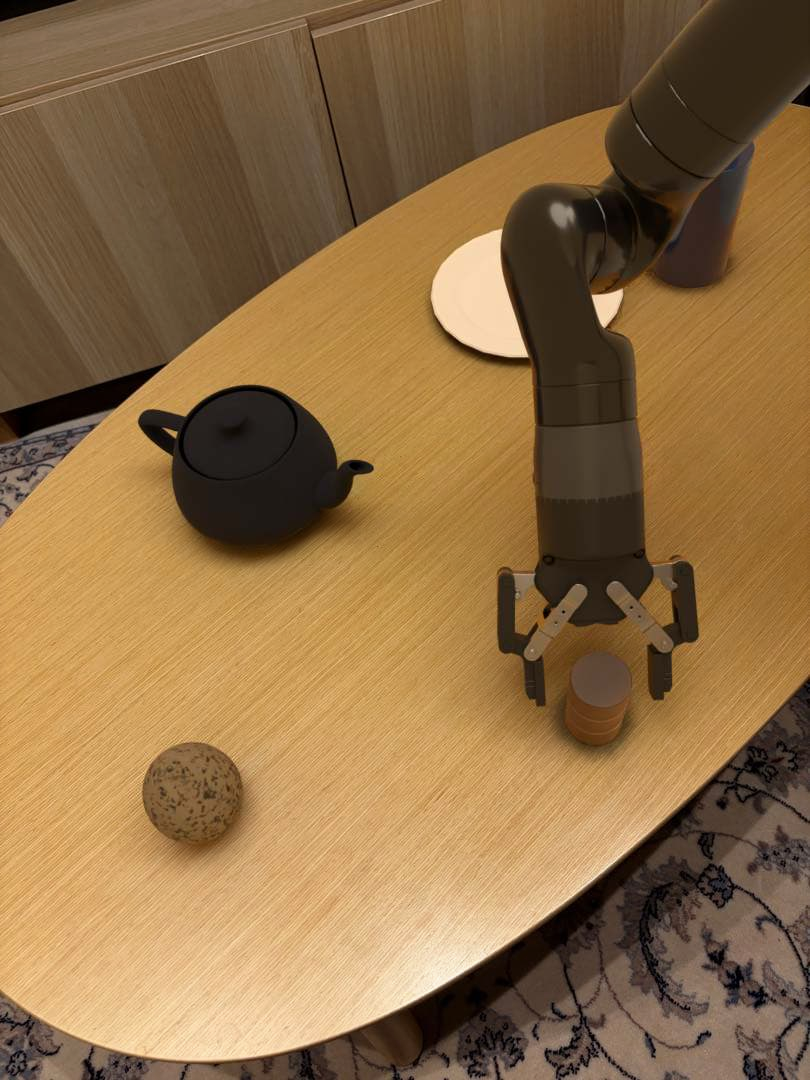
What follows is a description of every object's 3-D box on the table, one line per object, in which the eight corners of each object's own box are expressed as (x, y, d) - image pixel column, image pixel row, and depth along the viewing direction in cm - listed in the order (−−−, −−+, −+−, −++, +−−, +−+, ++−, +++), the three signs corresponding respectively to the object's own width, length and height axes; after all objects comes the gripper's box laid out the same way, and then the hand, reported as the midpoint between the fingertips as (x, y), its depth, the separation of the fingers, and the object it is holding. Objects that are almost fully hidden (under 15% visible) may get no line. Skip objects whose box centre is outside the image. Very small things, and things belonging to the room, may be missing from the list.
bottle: (739, 254, 96) (788, 65, 78) (703, 297, 93) (746, 111, 75) (674, 230, 99) (707, 43, 81) (637, 271, 96) (663, 86, 78)
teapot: (125, 525, 85) (71, 446, 75) (204, 409, 92) (164, 323, 82) (353, 600, 77) (327, 525, 67) (420, 468, 84) (406, 382, 74)
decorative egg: (265, 834, 67) (228, 798, 59) (176, 869, 66) (127, 837, 58) (243, 751, 71) (206, 705, 63) (159, 783, 70) (111, 741, 62)
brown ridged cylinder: (632, 713, 69) (644, 672, 62) (602, 757, 67) (611, 720, 61) (584, 682, 71) (591, 639, 64) (553, 724, 69) (557, 685, 63)
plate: (546, 212, 103) (546, 200, 102) (662, 309, 92) (665, 297, 91) (397, 287, 99) (395, 275, 97) (501, 397, 88) (500, 386, 87)
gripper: (488, 502, 58) (504, 726, 61) (706, 485, 57) (710, 715, 60) (485, 484, 65) (500, 686, 69) (678, 469, 64) (683, 675, 67)
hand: (598, 699), depth 64 cm, fingers open, 8 cm apart
